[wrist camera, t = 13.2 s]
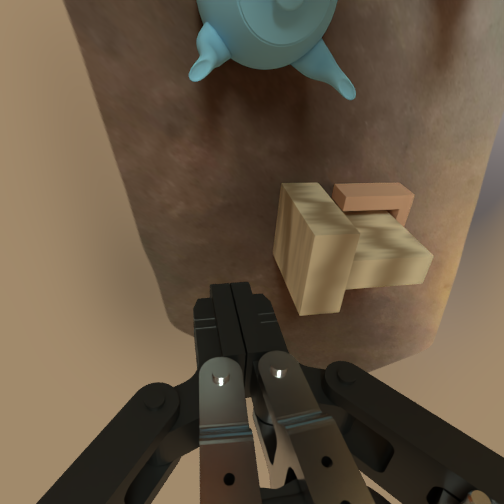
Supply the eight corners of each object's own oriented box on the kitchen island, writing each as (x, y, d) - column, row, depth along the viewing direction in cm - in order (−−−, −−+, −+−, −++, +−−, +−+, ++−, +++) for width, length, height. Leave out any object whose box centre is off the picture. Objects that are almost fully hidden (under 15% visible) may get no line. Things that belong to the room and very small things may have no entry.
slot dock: (320, 248, 56) (330, 264, 52) (334, 183, 50) (346, 196, 46) (379, 245, 57) (392, 260, 54) (399, 182, 52) (414, 195, 48)
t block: (272, 253, 54) (299, 315, 44) (281, 183, 48) (314, 235, 38) (367, 248, 57) (413, 305, 47) (386, 181, 51) (444, 229, 41)
